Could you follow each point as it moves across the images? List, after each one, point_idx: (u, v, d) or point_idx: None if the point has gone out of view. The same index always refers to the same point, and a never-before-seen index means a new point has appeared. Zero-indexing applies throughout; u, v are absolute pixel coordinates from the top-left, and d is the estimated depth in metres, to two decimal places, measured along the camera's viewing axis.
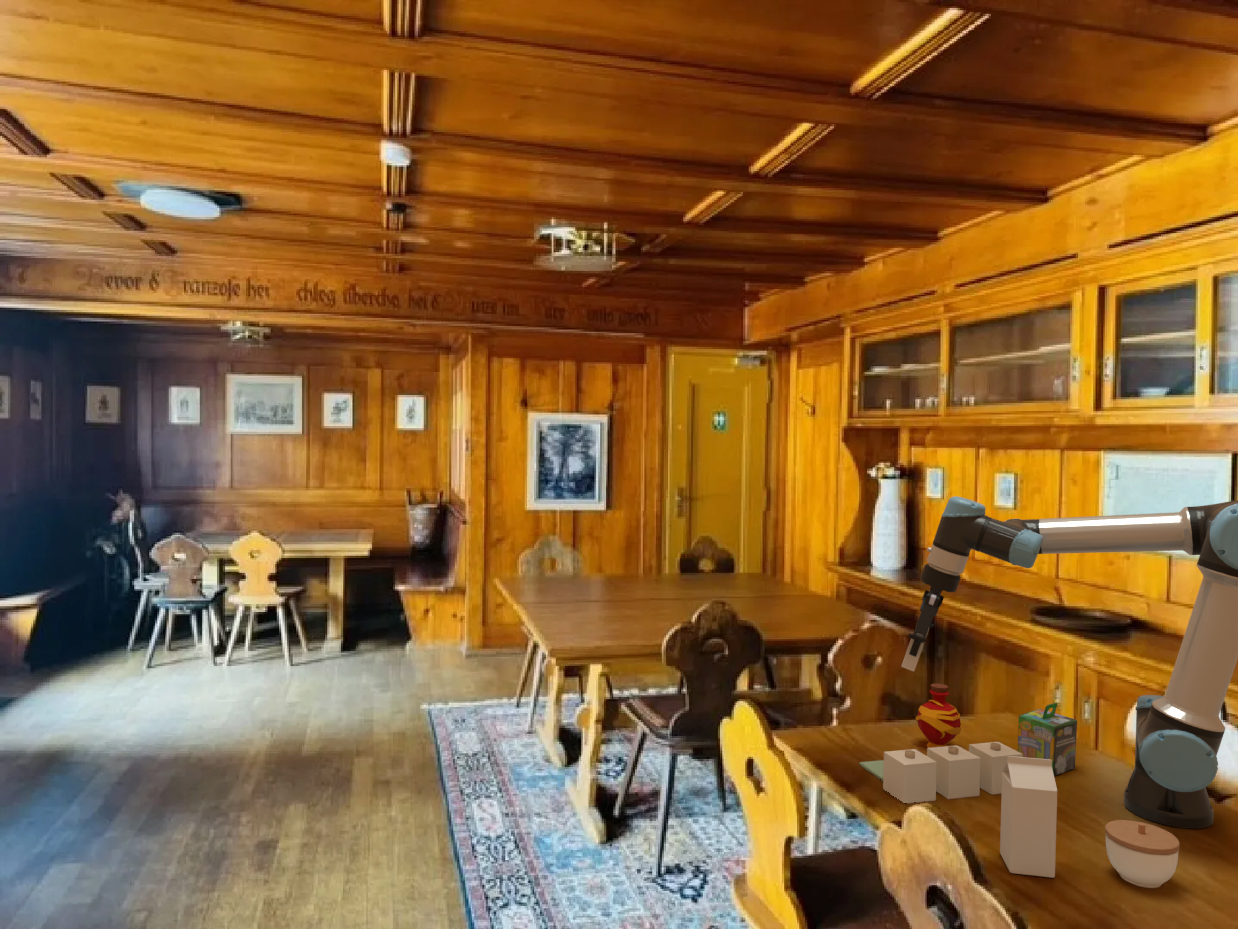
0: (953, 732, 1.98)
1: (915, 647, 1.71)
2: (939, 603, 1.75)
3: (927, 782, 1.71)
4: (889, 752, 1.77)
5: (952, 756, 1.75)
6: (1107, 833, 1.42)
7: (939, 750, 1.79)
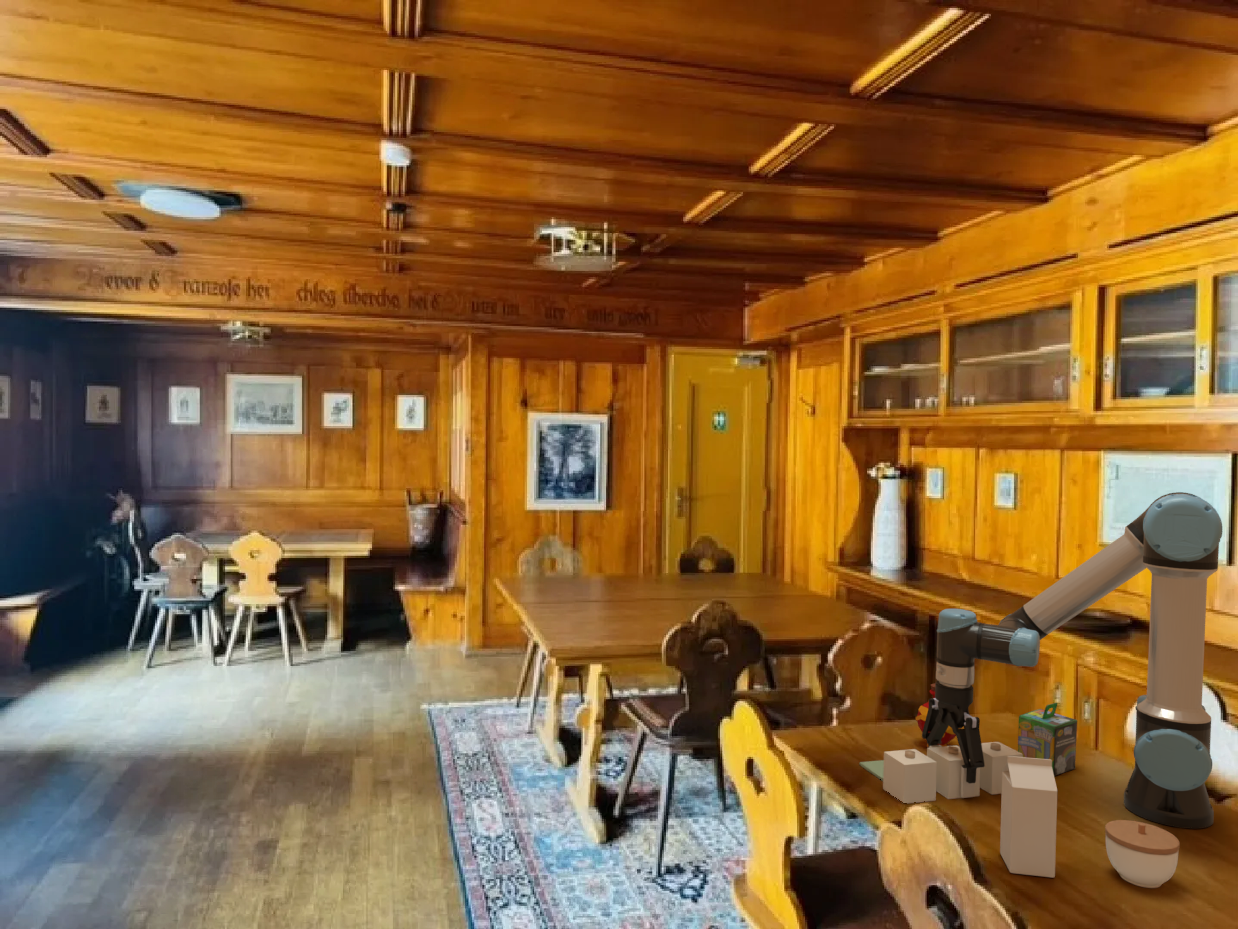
0: None
1: (973, 774, 1.71)
2: None
3: (927, 782, 1.71)
4: (889, 752, 1.77)
5: (952, 756, 1.75)
6: (1107, 833, 1.42)
7: (939, 750, 1.79)
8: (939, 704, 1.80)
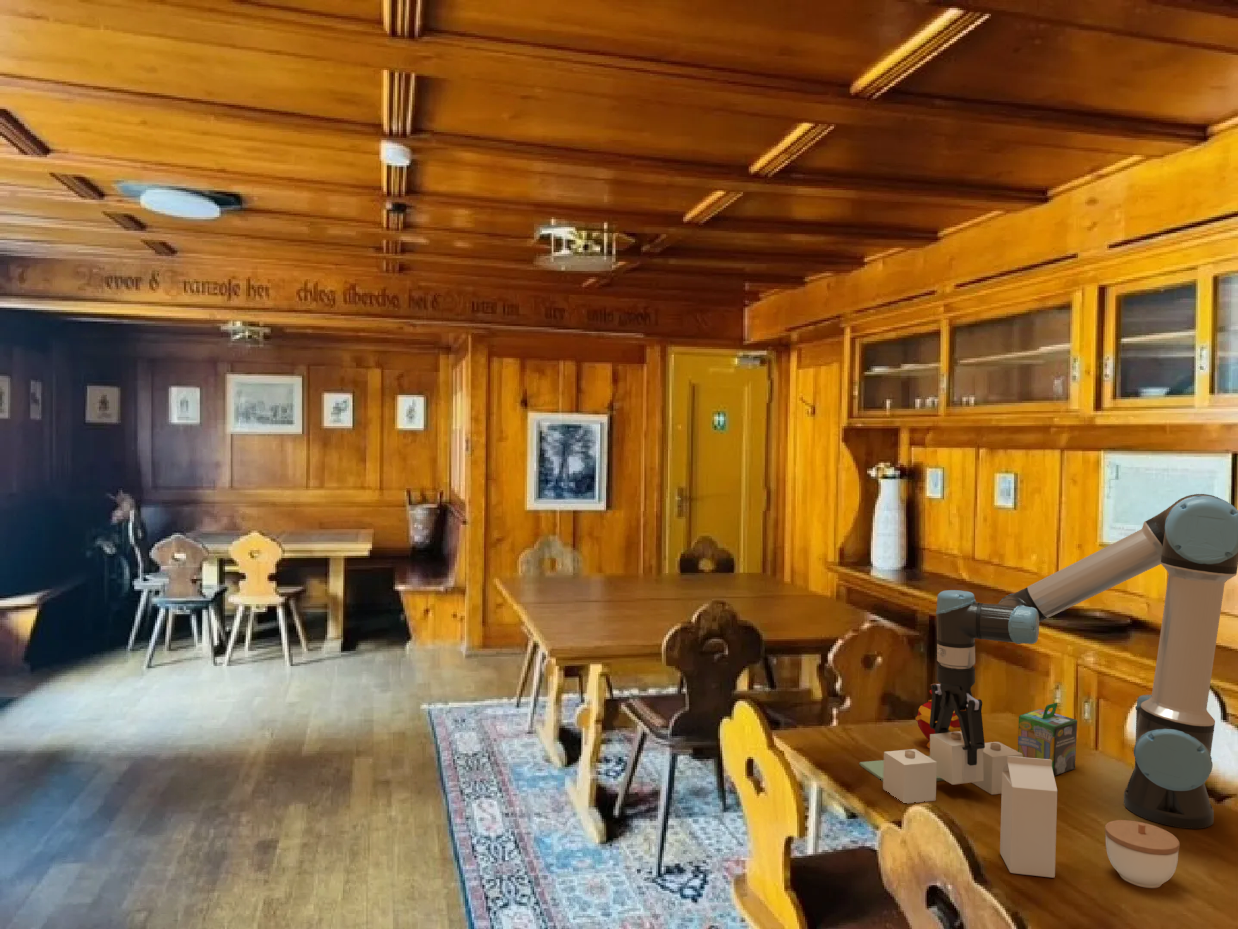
0: None
1: (973, 756, 1.72)
2: None
3: (927, 782, 1.71)
4: (889, 752, 1.77)
5: (955, 742, 1.75)
6: (1107, 833, 1.42)
7: (941, 736, 1.78)
8: (941, 687, 1.80)
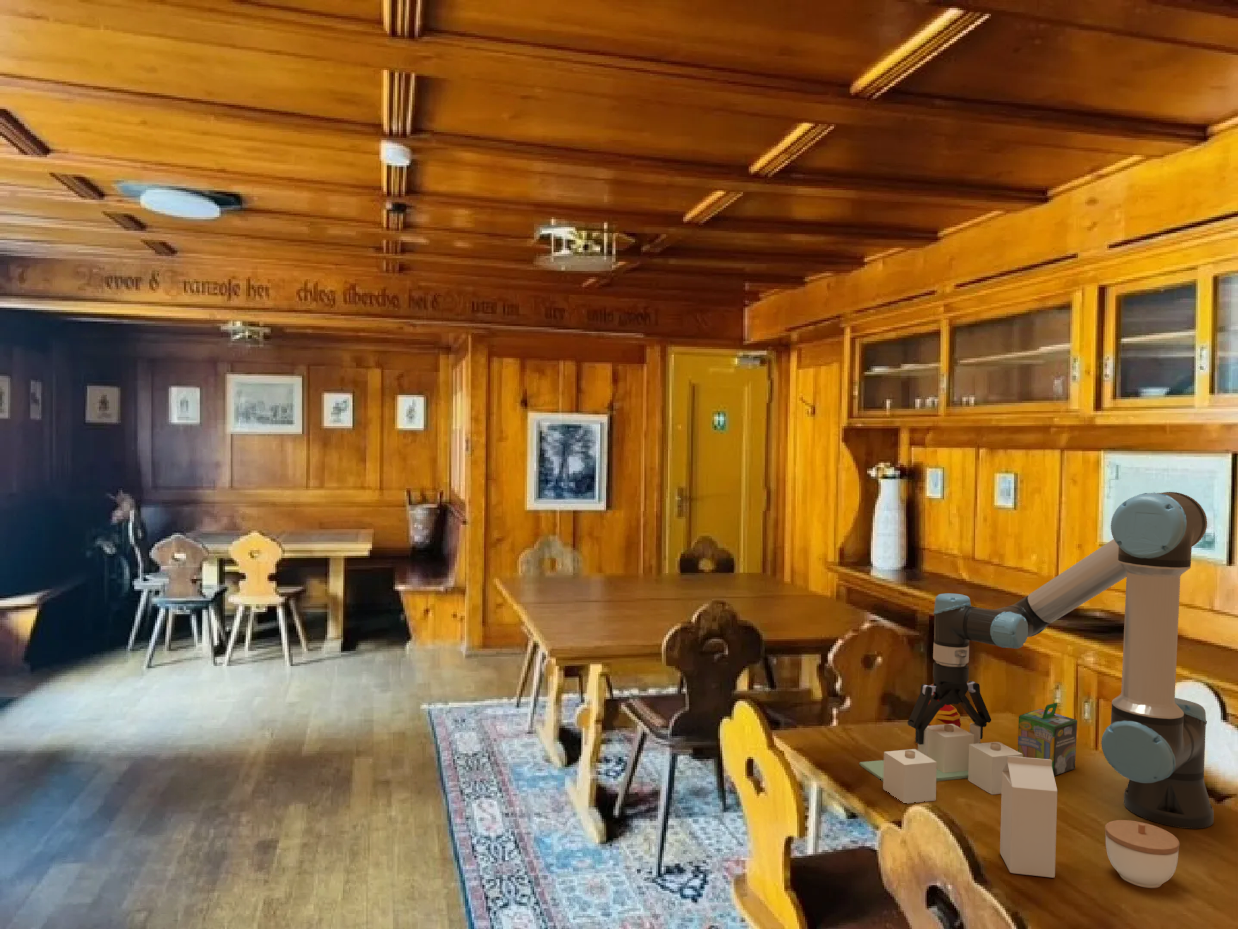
0: None
1: None
2: None
3: (927, 782, 1.71)
4: (889, 752, 1.77)
5: (959, 732, 1.89)
6: (1107, 833, 1.42)
7: (946, 734, 1.87)
8: (941, 689, 1.88)
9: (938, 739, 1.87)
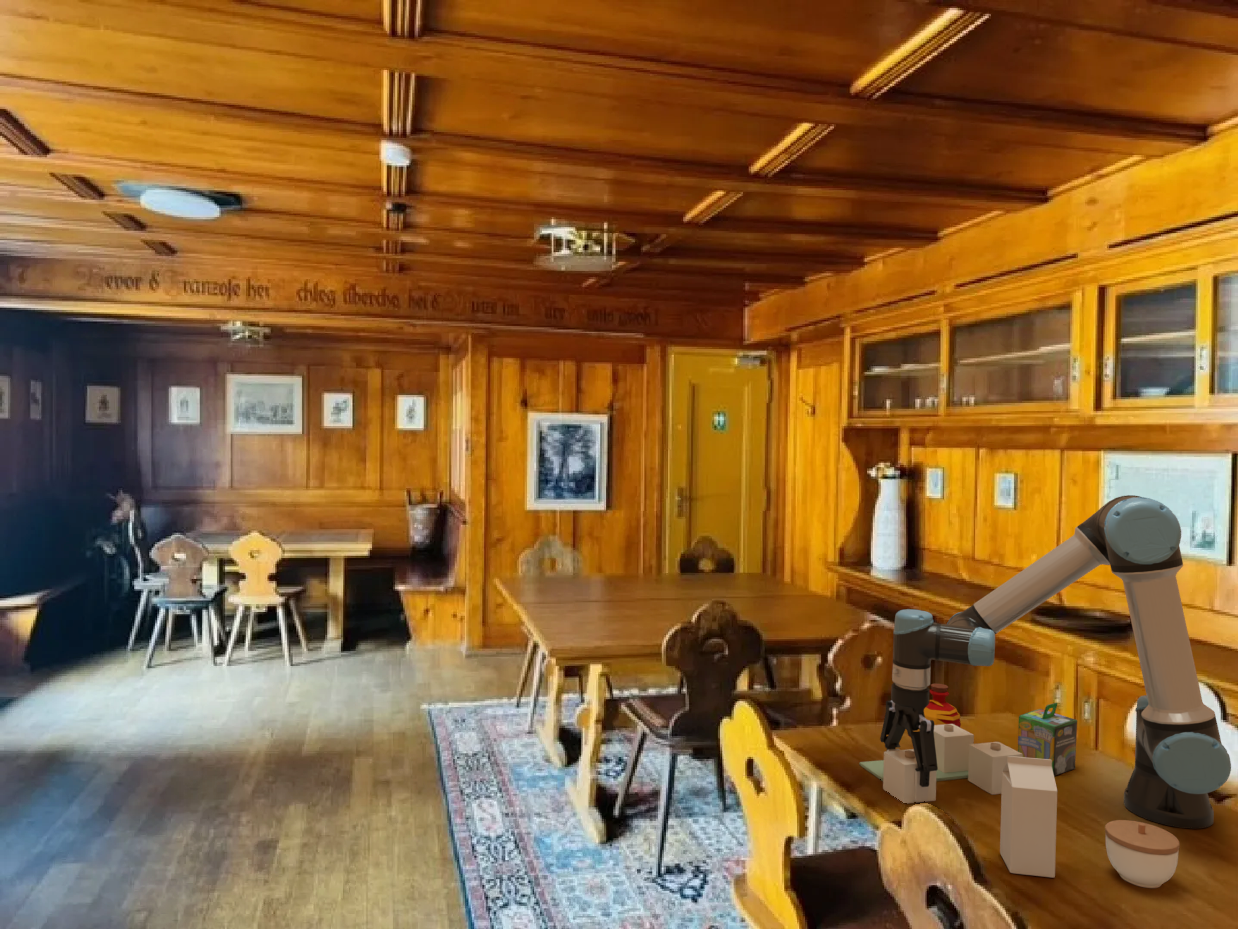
0: None
1: (926, 778, 1.69)
2: None
3: None
4: (889, 752, 1.77)
5: (959, 732, 1.89)
6: (1107, 833, 1.42)
7: (946, 734, 1.87)
8: (896, 706, 1.78)
9: (938, 739, 1.87)
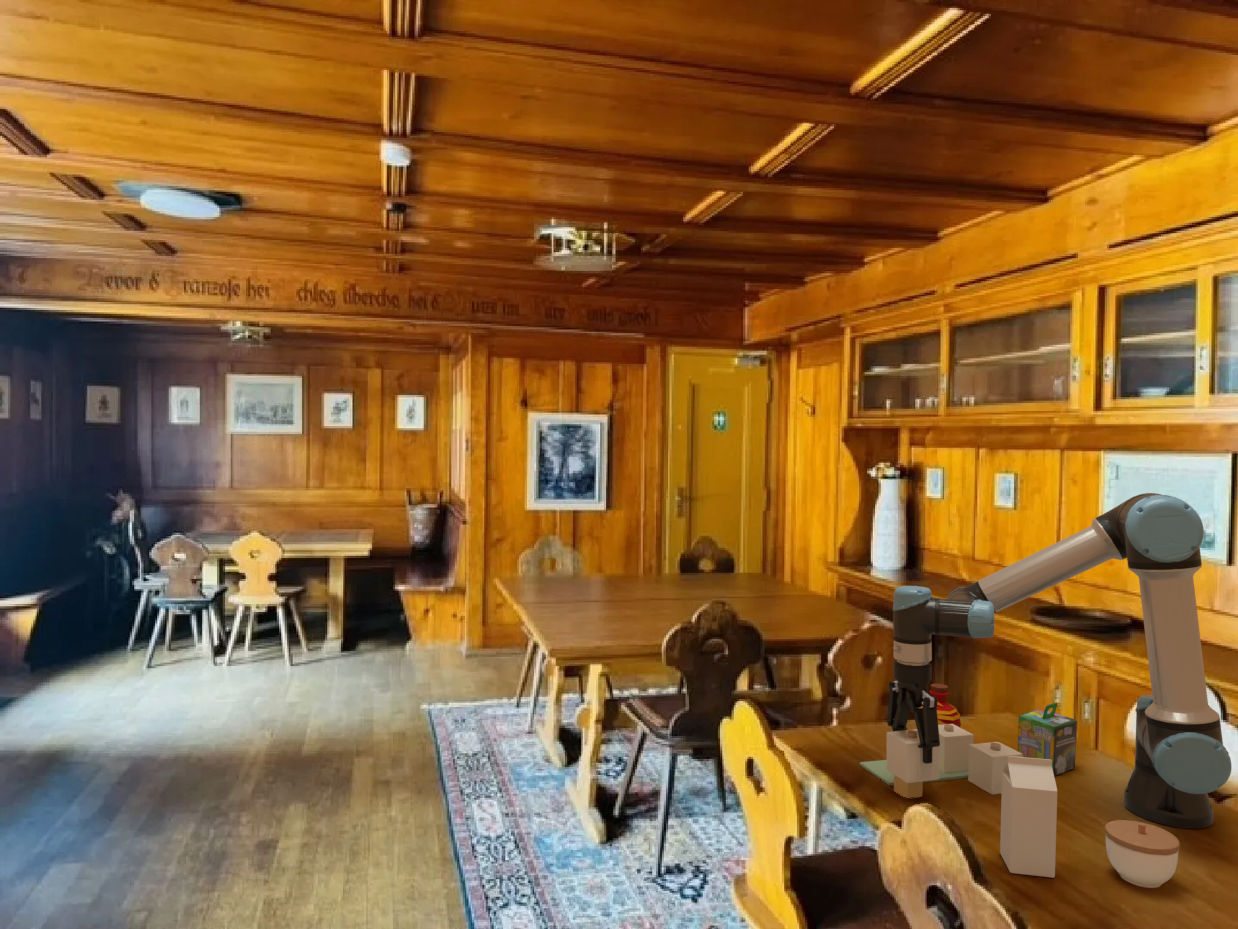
0: None
1: (929, 754, 1.69)
2: None
3: None
4: (892, 732, 1.77)
5: (959, 732, 1.89)
6: (1107, 833, 1.42)
7: (946, 734, 1.87)
8: (898, 684, 1.77)
9: None
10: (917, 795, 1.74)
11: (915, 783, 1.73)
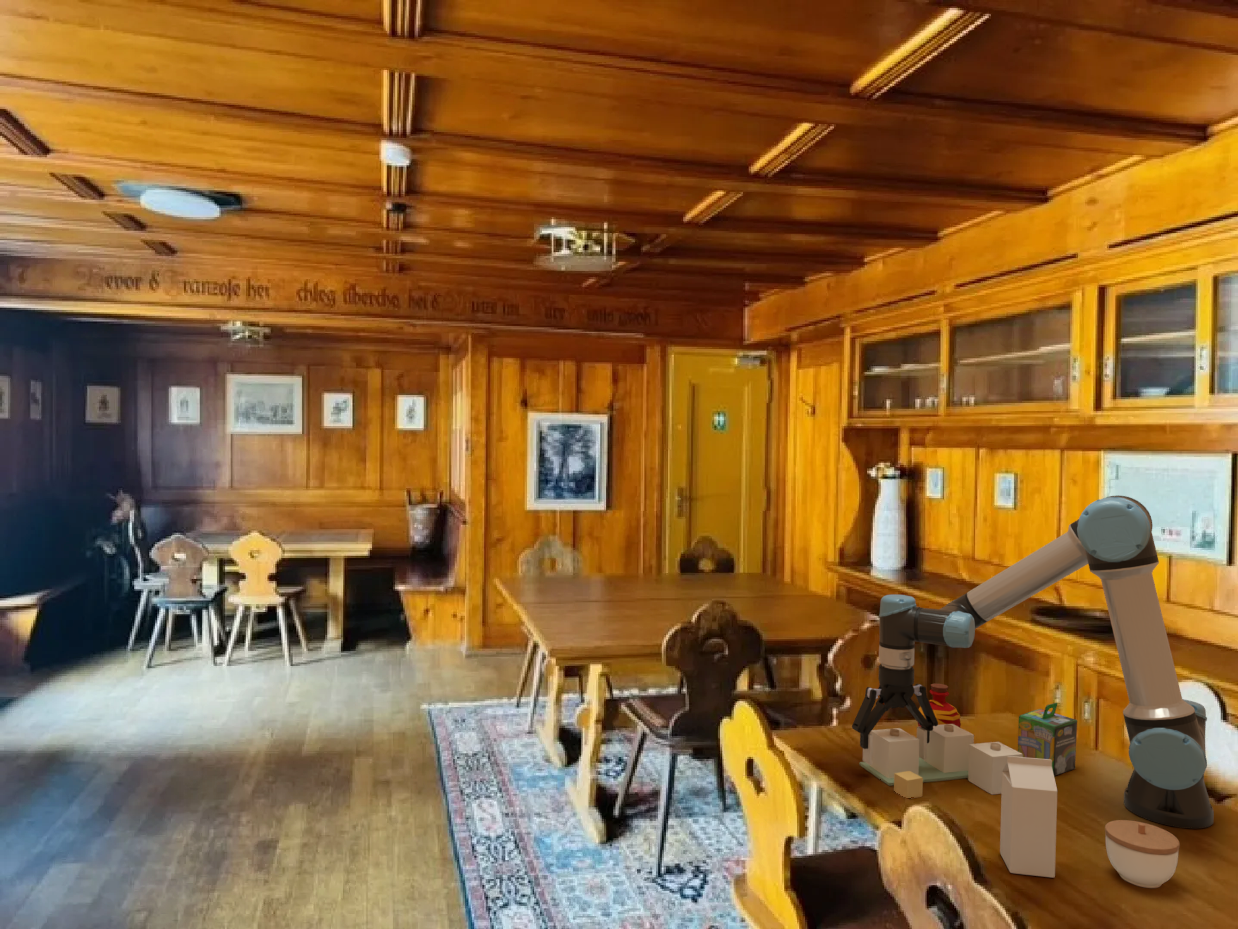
0: None
1: None
2: None
3: None
4: (889, 740, 1.83)
5: (959, 732, 1.89)
6: (1107, 833, 1.42)
7: (946, 734, 1.87)
8: (886, 692, 1.84)
9: (938, 739, 1.87)
10: (917, 795, 1.74)
11: (915, 783, 1.73)
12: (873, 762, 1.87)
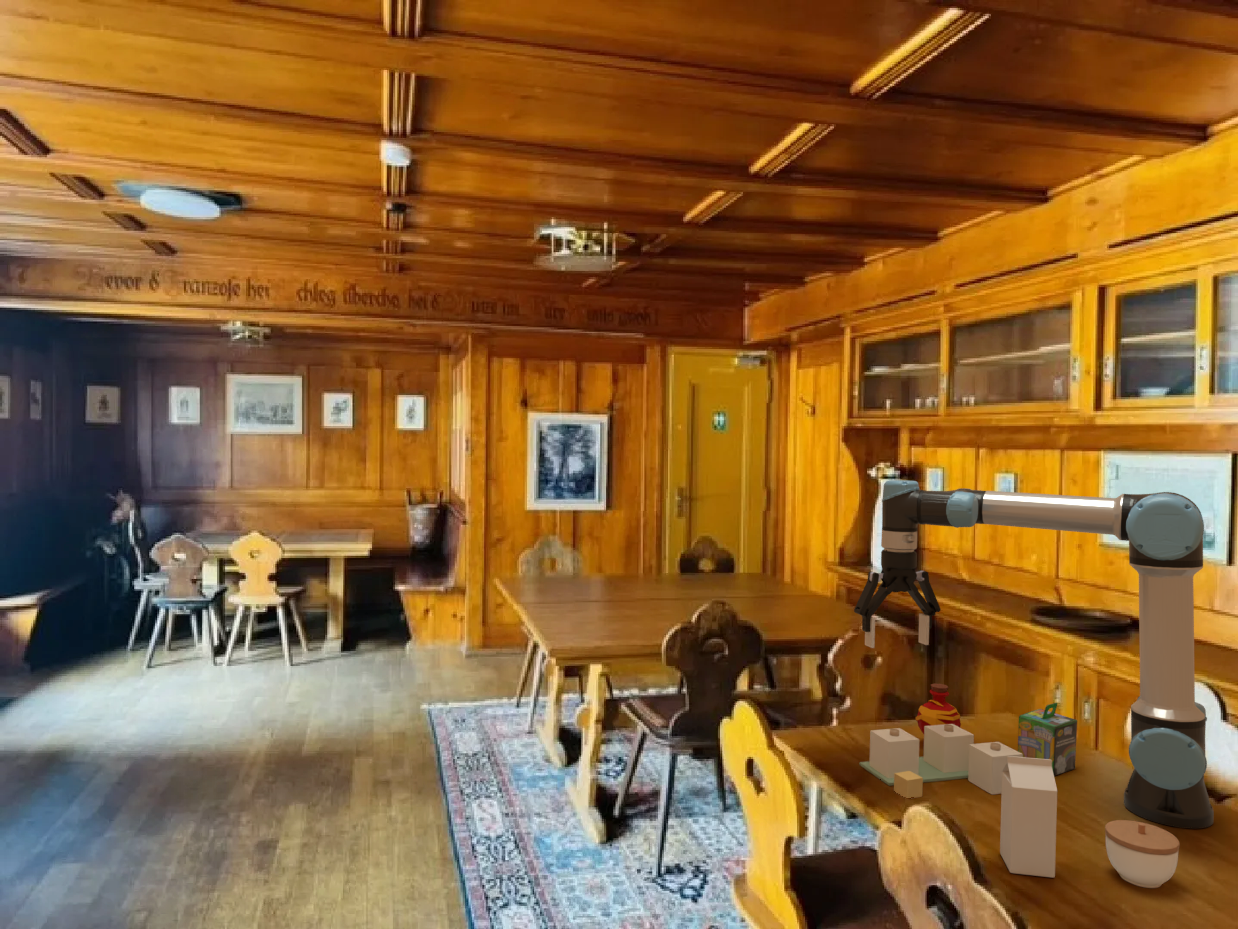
0: None
1: None
2: None
3: None
4: (889, 740, 1.83)
5: (959, 732, 1.89)
6: (1107, 833, 1.42)
7: (946, 734, 1.87)
8: (888, 576, 1.83)
9: (938, 739, 1.87)
10: (917, 795, 1.74)
11: (915, 783, 1.73)
12: (873, 762, 1.87)
